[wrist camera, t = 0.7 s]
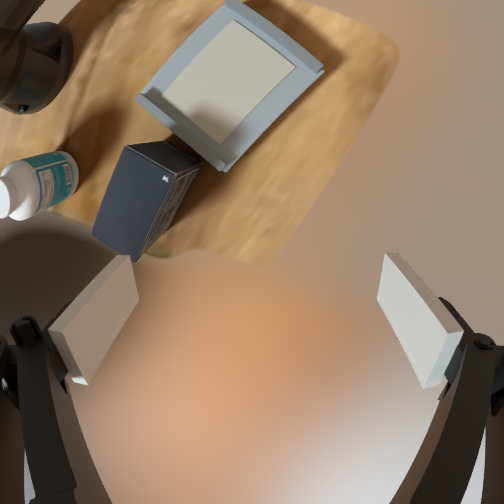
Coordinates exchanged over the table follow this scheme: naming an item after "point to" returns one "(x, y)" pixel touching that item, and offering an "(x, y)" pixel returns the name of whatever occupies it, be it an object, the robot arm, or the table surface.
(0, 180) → the pill bottle
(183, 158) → the small box
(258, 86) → the dock
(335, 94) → the table surface
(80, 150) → the table surface
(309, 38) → the table surface
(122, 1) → the table surface
